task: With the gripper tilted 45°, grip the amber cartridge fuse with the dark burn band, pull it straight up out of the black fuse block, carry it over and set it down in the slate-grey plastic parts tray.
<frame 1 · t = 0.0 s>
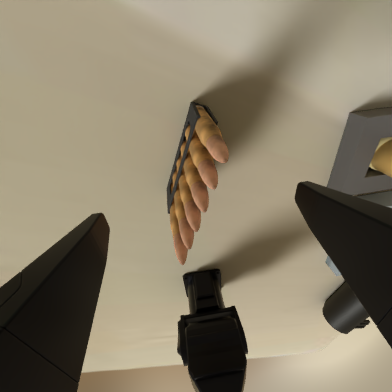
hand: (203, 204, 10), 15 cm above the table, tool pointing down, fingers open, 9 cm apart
fuse block: (374, 148, 26), on the table
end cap: (339, 289, 46), on the table
ammunition clip: (185, 151, 24), on the table
parts tray: (378, 226, 35), on the table
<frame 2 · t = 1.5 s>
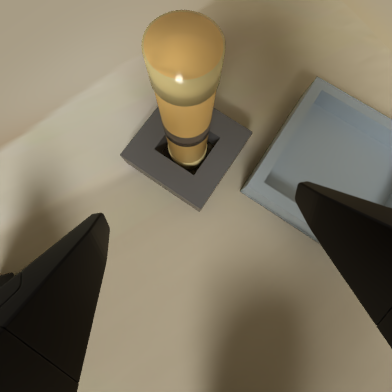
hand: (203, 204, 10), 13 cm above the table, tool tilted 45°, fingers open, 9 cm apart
fuse block: (187, 152, 24), on the table
fuse: (186, 120, 17), in the fuse block
parts tray: (328, 174, 24), on the table
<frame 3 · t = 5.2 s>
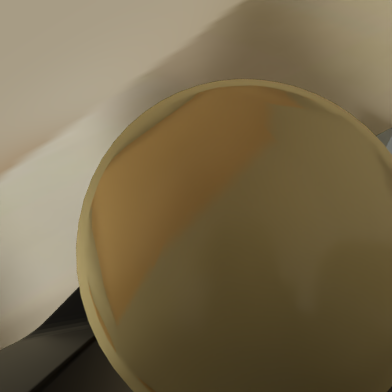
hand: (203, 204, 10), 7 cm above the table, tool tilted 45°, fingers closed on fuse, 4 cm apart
fuse: (208, 235, 9), in the fuse block, touching gripper
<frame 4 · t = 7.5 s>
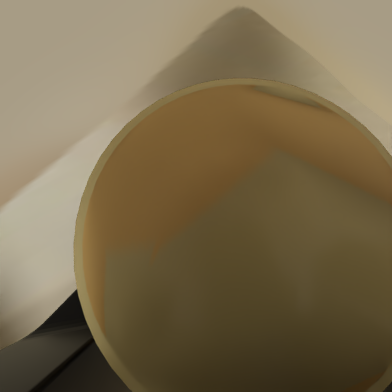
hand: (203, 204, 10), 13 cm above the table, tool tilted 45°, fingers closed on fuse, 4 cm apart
fuse: (207, 234, 9), point 13 cm above the table, touching gripper
when the fingers open (10 cm above the table, at t = 10.1 s): fuse drops 1 cm, resting on parts tray.
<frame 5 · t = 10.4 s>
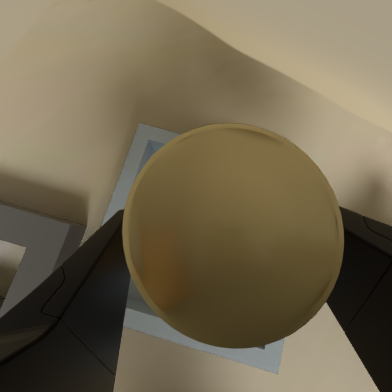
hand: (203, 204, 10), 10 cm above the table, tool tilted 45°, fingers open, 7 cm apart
fuse block: (10, 266, 18), on the table
fuse: (206, 233, 11), in the parts tray, point 8 cm above the table
parts tray: (199, 235, 19), on the table
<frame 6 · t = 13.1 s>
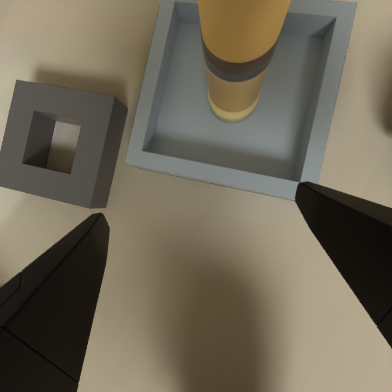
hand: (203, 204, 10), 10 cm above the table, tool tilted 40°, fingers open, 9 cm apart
fuse block: (71, 148, 21), on the table
fuse: (239, 36, 11), in the parts tray, point 8 cm above the table
parts tray: (232, 105, 19), on the table
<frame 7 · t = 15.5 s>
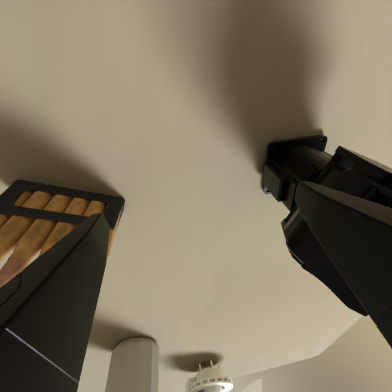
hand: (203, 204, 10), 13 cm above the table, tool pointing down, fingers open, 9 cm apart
mechanical part: (206, 364, 56), on the table
jar: (136, 344, 45), on the table
ammunition clip: (74, 195, 23), on the table
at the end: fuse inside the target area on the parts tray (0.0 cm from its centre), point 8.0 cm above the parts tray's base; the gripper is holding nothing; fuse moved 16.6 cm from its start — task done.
